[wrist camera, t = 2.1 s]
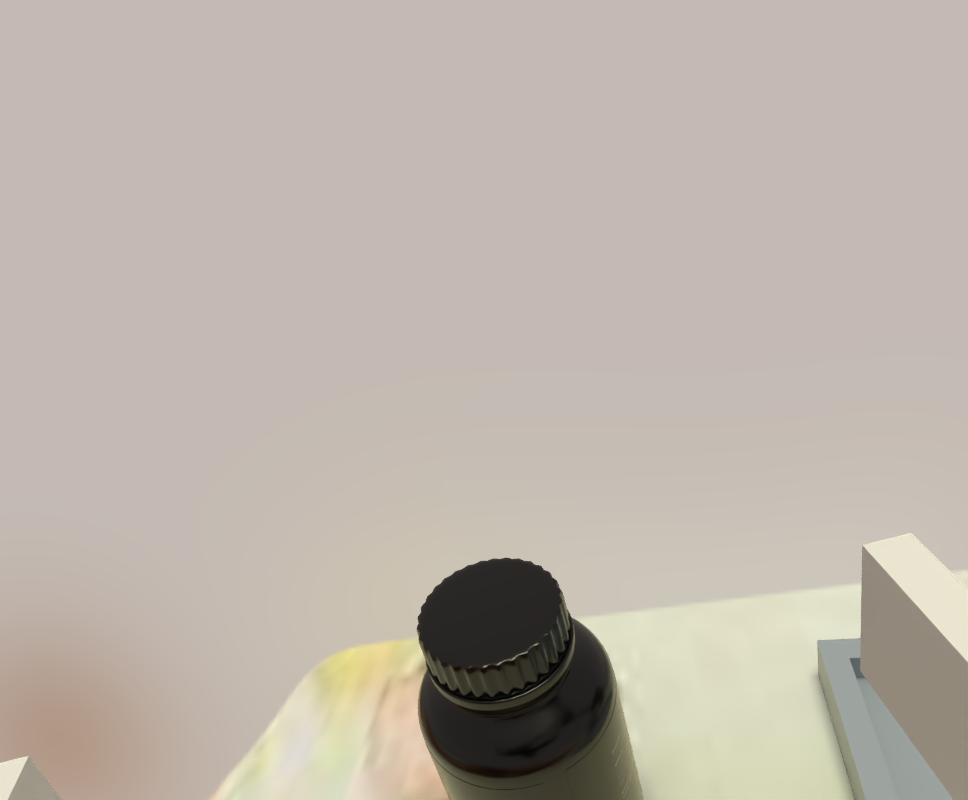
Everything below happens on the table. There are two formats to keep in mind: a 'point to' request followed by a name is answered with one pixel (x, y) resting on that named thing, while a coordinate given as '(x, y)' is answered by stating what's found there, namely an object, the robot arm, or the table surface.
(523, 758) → the supplement bottle
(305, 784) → the table surface
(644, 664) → the table surface
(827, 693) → the tray
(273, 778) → the table surface
